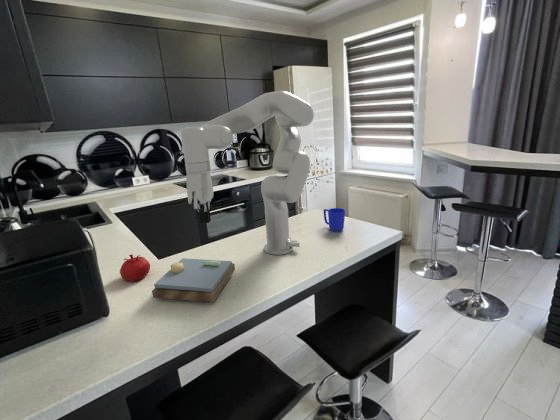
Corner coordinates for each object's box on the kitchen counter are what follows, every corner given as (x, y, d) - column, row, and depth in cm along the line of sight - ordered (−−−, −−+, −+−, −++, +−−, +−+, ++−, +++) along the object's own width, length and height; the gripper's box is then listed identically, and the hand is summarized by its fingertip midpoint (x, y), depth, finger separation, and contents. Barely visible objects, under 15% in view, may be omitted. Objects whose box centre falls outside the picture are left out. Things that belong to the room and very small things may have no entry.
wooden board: (235, 273, 106) (234, 263, 105) (214, 306, 88) (212, 294, 87) (184, 270, 110) (183, 261, 109) (153, 301, 91) (151, 290, 90)
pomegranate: (157, 273, 110) (153, 251, 107) (133, 286, 101) (129, 262, 98) (138, 268, 114) (135, 246, 111) (115, 280, 105) (110, 257, 103)
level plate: (232, 264, 104) (231, 256, 104) (212, 292, 88) (211, 282, 87) (183, 261, 108) (181, 253, 107) (154, 287, 91) (153, 278, 90)
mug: (329, 224, 152) (329, 205, 149) (348, 229, 143) (348, 210, 140) (318, 228, 147) (318, 209, 144) (337, 234, 138) (337, 214, 135)
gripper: (197, 164, 100) (204, 215, 105) (175, 171, 86) (184, 230, 91) (218, 163, 99) (224, 215, 104) (199, 171, 85) (207, 230, 90)
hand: (205, 222), depth 98 cm, fingers closed
